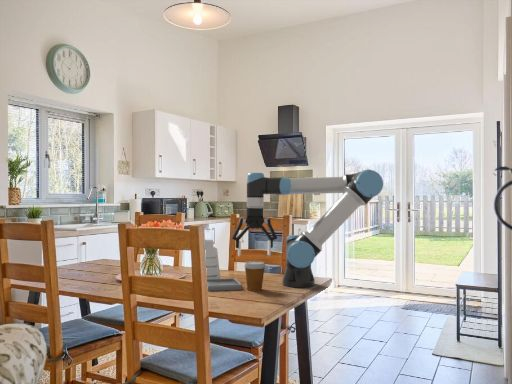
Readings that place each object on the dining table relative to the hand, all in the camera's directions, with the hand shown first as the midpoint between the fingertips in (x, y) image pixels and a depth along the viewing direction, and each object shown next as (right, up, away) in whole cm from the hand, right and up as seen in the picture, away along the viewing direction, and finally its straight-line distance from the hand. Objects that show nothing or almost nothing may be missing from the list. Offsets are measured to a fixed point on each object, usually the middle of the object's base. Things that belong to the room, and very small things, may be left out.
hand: (254, 255), depth 195 cm
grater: (-23, -15, +22) cm, 35 cm away
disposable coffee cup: (0, -15, 0) cm, 15 cm away
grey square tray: (-15, -15, +5) cm, 22 cm away
